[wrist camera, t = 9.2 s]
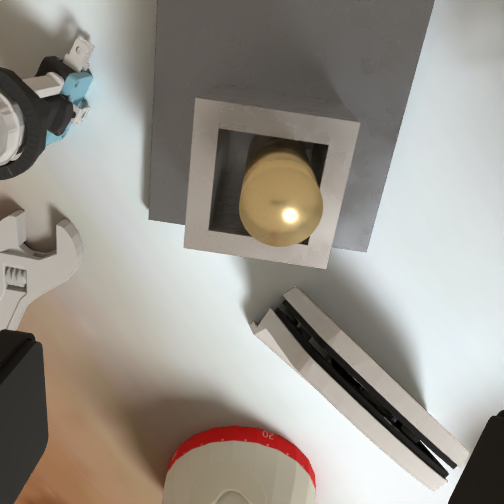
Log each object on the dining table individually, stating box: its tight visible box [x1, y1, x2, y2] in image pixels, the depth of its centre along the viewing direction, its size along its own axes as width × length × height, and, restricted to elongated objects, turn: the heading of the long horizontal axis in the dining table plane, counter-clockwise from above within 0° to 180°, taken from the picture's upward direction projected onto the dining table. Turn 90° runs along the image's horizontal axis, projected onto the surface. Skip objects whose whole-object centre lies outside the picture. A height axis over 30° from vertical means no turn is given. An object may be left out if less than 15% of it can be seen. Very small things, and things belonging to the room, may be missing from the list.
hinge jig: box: [149, 0, 435, 269], centre depth 24 cm, size 15×19×8 cm
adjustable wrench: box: [0, 210, 84, 331], centre depth 37 cm, size 25×6×2 cm, turn 143°
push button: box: [0, 39, 95, 180], centre depth 24 cm, size 7×5×10 cm
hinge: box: [250, 287, 470, 491], centre depth 33 cm, size 17×5×10 cm, turn 45°
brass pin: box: [239, 134, 323, 247], centre depth 24 cm, size 4×4×10 cm
